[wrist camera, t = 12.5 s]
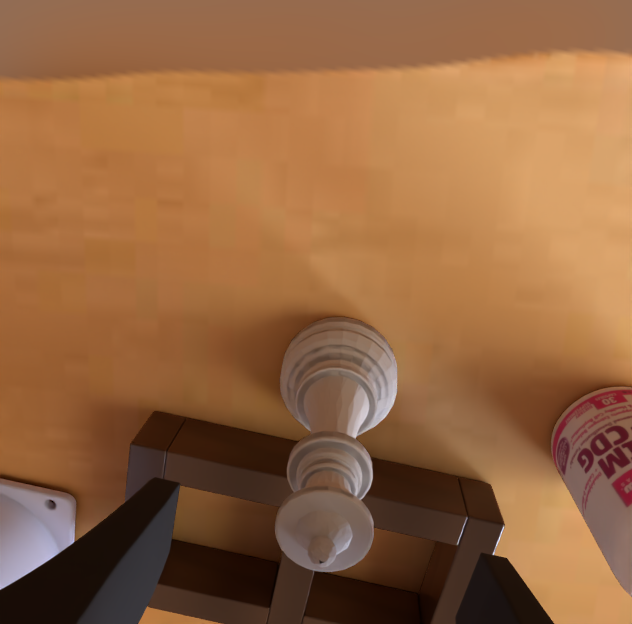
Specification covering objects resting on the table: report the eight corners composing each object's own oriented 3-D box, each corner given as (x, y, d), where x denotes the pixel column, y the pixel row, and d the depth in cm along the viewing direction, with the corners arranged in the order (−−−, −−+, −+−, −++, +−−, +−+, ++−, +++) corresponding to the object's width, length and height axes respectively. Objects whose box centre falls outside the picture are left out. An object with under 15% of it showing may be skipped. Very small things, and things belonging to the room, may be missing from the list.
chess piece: (273, 324, 21) (200, 489, 12) (387, 307, 21) (408, 466, 11) (296, 424, 22) (247, 644, 13) (403, 411, 22) (434, 630, 12)
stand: (137, 556, 25) (115, 600, 23) (153, 409, 23) (129, 443, 20) (440, 622, 25) (448, 674, 23) (491, 483, 23) (506, 525, 20)
